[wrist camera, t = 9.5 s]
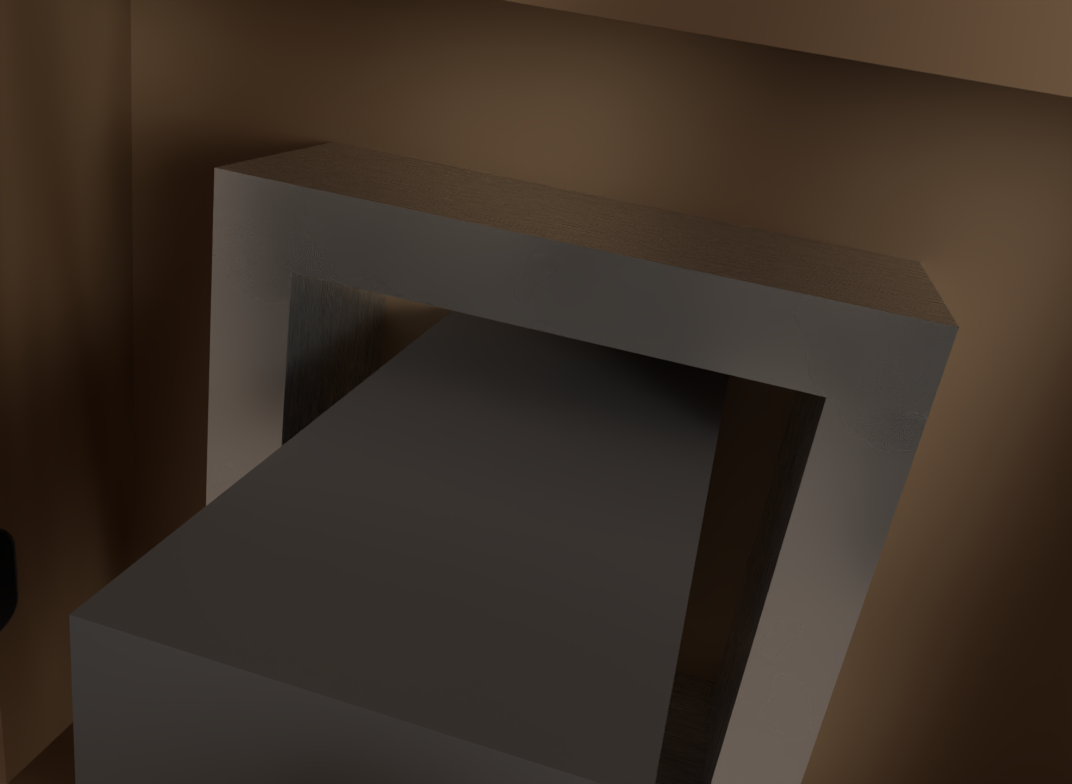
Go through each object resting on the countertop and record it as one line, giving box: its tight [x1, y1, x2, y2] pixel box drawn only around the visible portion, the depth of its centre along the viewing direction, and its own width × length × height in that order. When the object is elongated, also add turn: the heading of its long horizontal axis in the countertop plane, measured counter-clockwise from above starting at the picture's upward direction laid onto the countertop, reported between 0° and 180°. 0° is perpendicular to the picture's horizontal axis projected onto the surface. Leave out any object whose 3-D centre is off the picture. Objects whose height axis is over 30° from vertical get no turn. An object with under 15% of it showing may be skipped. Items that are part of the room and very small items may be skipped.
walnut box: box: [0, 0, 1072, 784], centre depth 13 cm, size 18×14×4 cm
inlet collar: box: [206, 142, 959, 784], centre depth 13 cm, size 8×8×3 cm
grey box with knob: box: [69, 311, 729, 784], centre depth 10 cm, size 4×4×9 cm
